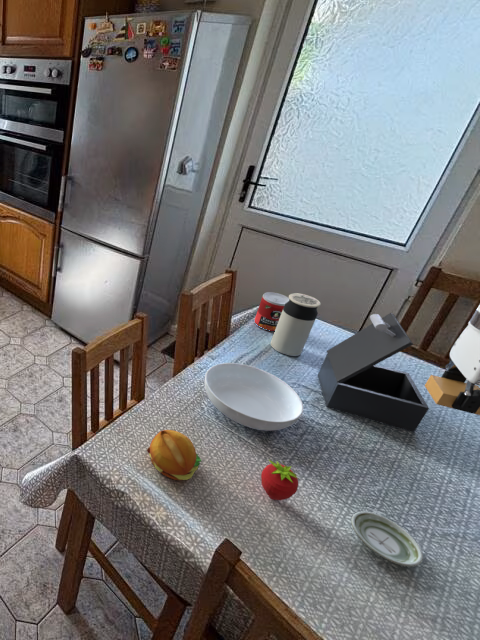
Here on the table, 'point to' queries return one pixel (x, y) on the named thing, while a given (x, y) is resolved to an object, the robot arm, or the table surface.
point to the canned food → (270, 310)
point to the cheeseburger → (174, 455)
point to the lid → (368, 347)
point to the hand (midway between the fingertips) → (455, 398)
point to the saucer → (386, 539)
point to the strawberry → (279, 481)
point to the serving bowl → (252, 396)
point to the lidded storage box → (375, 396)
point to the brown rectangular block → (446, 390)
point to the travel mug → (295, 324)
